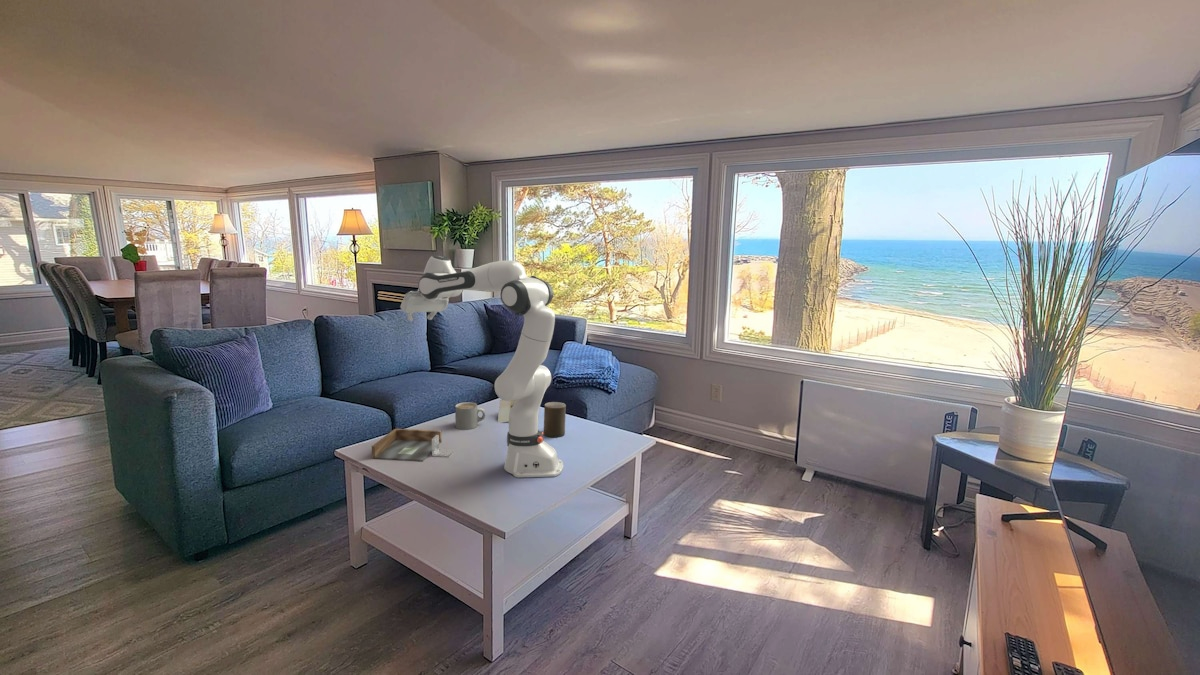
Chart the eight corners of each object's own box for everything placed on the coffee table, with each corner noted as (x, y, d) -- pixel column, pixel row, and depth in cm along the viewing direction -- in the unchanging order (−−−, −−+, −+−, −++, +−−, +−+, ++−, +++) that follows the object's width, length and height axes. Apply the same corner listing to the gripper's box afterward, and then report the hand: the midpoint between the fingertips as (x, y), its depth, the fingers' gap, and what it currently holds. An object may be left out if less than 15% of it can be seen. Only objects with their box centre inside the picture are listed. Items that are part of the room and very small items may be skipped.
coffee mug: (453, 429, 228) (453, 408, 226) (458, 422, 238) (457, 402, 236) (483, 430, 229) (483, 409, 227) (486, 422, 239) (486, 402, 237)
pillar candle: (556, 439, 221) (557, 406, 219) (539, 434, 226) (540, 402, 224) (569, 433, 229) (570, 401, 227) (552, 428, 234) (553, 397, 232)
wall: (534, 426, 247) (533, 401, 256) (531, 418, 240) (530, 392, 249) (501, 431, 246) (500, 405, 255) (497, 423, 239) (497, 396, 249)
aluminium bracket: (432, 456, 198) (431, 439, 197) (436, 451, 203) (436, 434, 202) (449, 457, 198) (449, 440, 197) (453, 452, 203) (453, 435, 202)
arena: (441, 442, 213) (441, 430, 212) (422, 461, 193) (422, 449, 192) (395, 439, 214) (395, 428, 213) (372, 458, 194) (371, 446, 193)
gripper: (411, 295, 195) (401, 324, 200) (453, 295, 212) (443, 322, 217) (402, 287, 198) (393, 316, 203) (445, 287, 214) (435, 314, 220)
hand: (419, 319), depth 210 cm, fingers open, 8 cm apart
